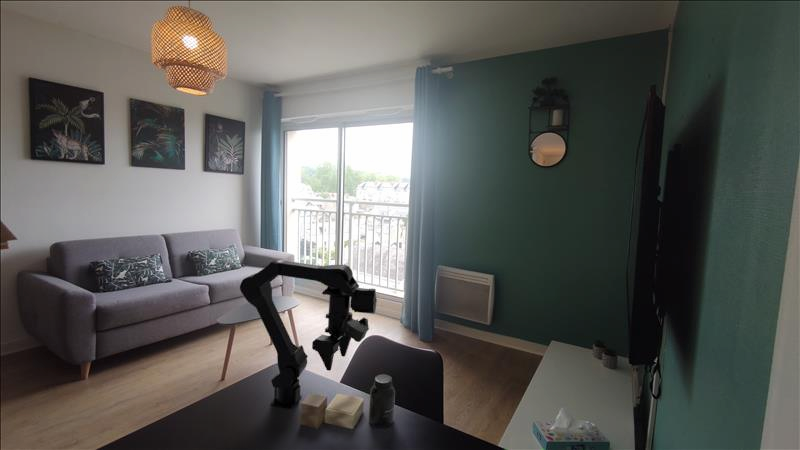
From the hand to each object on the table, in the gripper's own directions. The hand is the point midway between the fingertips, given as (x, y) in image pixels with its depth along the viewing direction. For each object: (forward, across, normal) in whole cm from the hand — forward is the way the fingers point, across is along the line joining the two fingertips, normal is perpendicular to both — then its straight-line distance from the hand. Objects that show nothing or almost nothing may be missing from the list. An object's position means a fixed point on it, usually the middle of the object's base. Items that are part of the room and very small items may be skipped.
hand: (336, 362), depth 103 cm
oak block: (+13, -4, -5) cm, 15 cm away
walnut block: (+13, -8, +2) cm, 15 cm away
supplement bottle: (+13, -2, -15) cm, 20 cm away
